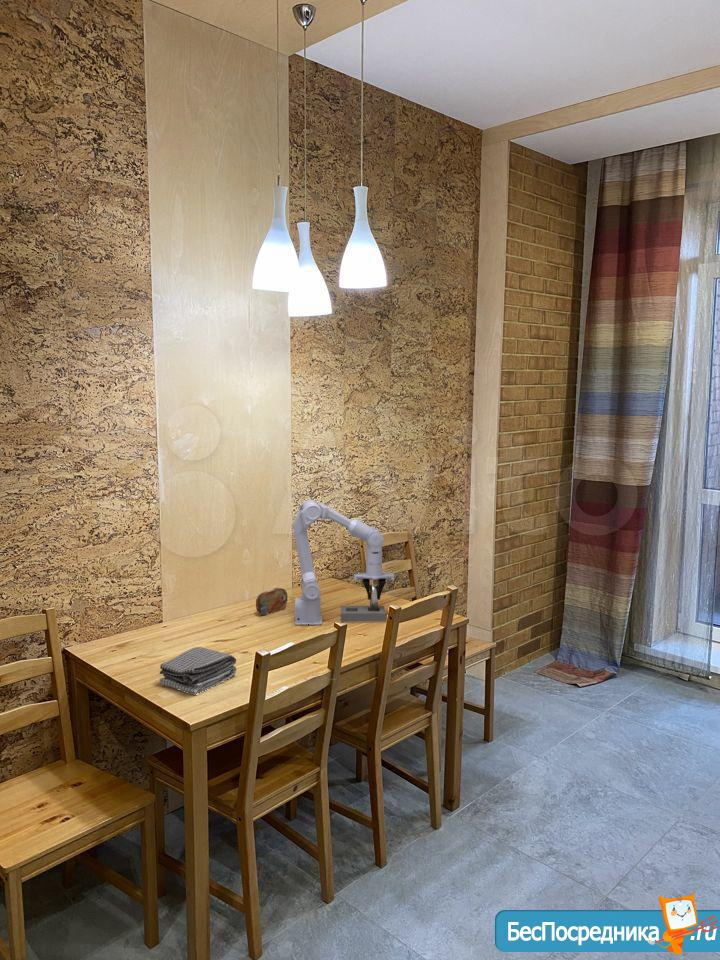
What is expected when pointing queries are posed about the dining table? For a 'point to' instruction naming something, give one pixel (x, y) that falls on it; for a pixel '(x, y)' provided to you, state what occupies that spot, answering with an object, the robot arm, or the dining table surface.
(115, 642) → the dining table surface
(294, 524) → the robot arm
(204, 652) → the towel
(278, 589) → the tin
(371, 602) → the pin
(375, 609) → the hole block
